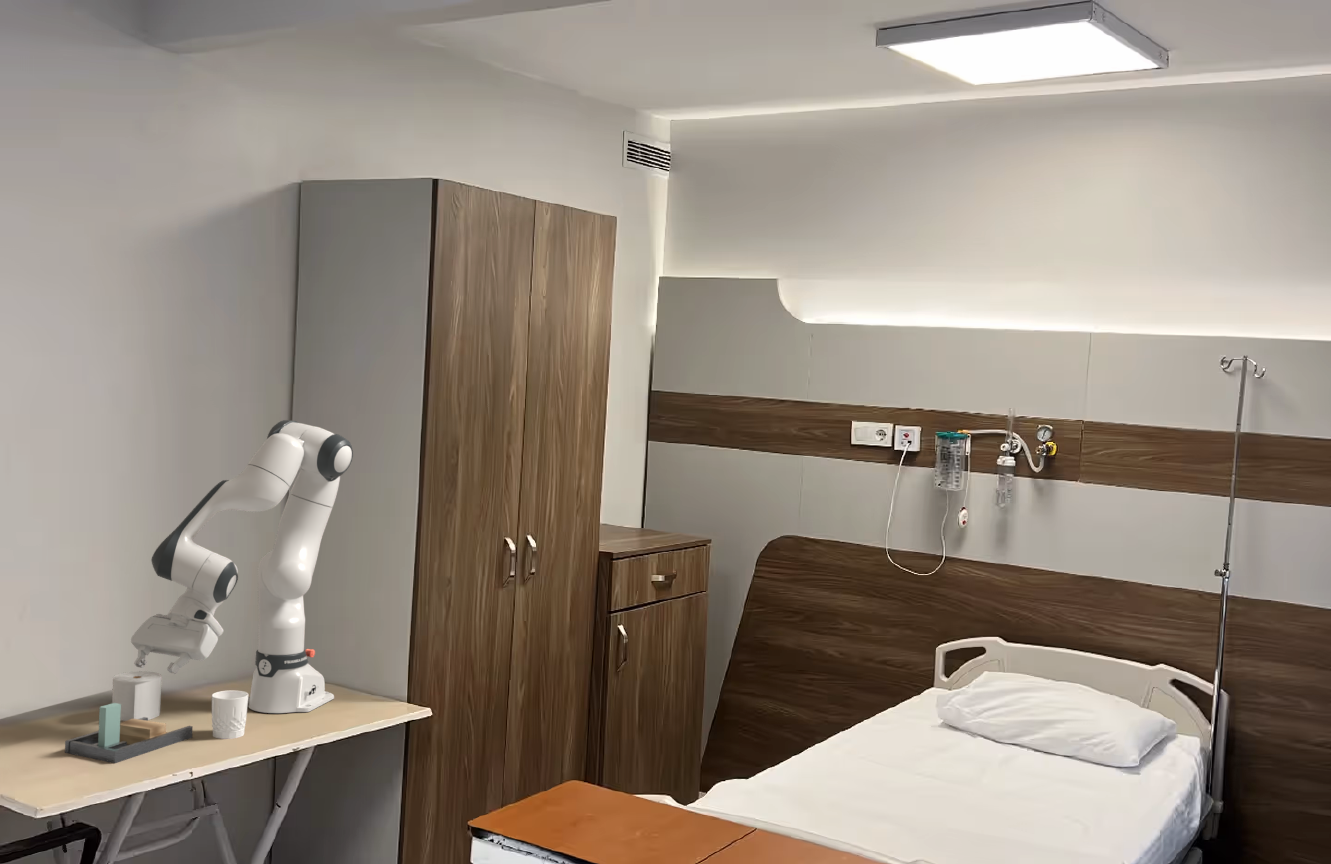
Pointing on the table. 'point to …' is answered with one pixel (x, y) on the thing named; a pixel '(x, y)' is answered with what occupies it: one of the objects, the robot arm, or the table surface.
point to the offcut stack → (140, 730)
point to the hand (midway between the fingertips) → (154, 668)
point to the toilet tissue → (137, 694)
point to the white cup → (229, 713)
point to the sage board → (109, 724)
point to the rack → (123, 745)
